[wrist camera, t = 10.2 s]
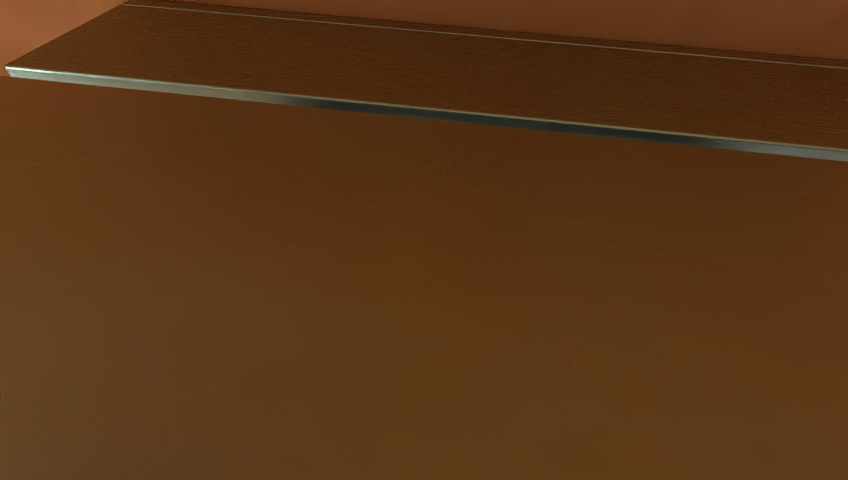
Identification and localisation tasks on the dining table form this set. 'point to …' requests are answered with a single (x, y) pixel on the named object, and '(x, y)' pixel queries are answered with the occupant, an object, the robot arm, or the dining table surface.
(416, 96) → the open hinged box
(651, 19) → the dining table surface
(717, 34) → the dining table surface
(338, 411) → the lid
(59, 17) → the dining table surface
